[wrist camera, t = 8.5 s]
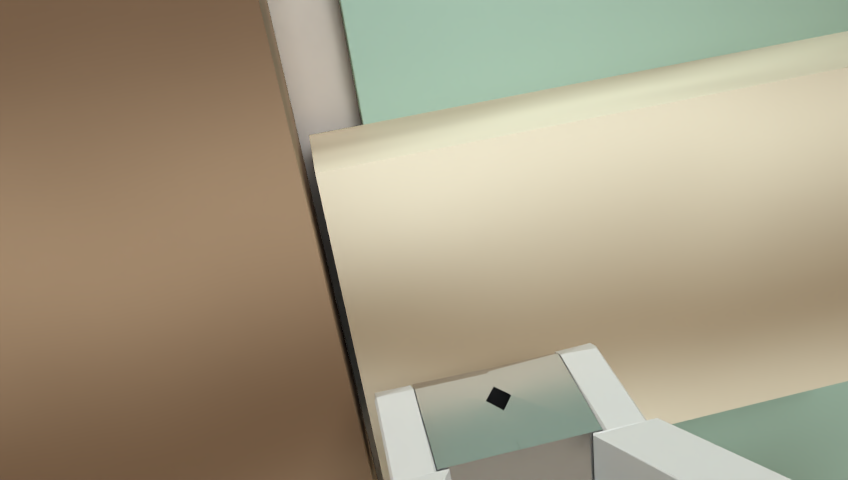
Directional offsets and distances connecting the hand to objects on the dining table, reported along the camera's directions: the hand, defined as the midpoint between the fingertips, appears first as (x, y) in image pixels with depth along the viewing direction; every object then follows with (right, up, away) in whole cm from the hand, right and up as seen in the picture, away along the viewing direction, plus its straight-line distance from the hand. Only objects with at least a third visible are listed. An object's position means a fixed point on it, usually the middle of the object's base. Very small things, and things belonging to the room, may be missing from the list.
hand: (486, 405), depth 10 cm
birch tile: (+2, +2, +2) cm, 4 cm away
